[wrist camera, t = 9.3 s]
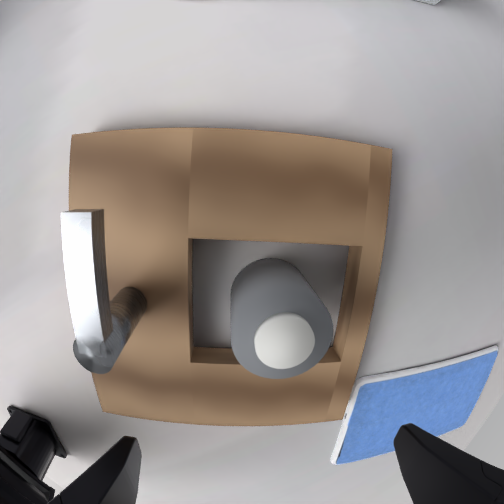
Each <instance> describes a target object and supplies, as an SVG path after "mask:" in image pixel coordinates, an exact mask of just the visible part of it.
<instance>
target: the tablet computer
mask: <svg viewBox="0 0 504 504" xmlns="http://www.w3.org/2000/svg"><path fill="white" fill-rule="evenodd" d="M498 351H499V348H498V346H496V345H495V346H492V347H489V348H486V349H483V350H480V351H477V352H474V353H471V354H467V355H464V356H460V357H457V358H453V359H450V360H446V361H442V362H438V363H434V364H429V365H425V366H421V367H415V368H411V369H405V370H400V371H395V372H388V373H383V374H377V375H370V376H364V377H361V378H359V379H357V380H356V381H355V383H354V385H353V388H352V392H351V395H350V400H349V402H348V405H347V409H346V412H345V416H344V420H343V423H342V426H341V429H340V433H339V436H338V439H337V442H336V445H335V448H334V451H333V454H332V456H331V462H332V464H334V465H340V464H345V463H350V462H355V461H359V460H364V459H368V458H371V457H375V456H379V455H383V454H386V453H390V452H393V451H395V448H394V444H393V441H394V438H395V436H396V434H397V432H398V430H399V428H400V427H401V426H402V425H404V424H408V423H413V424H414V425H416V426H418V427H420V428H422V429H423V430H425V431H427V432H429V433H430V434H432V435H434V436H436V437H438V436H440V435H443V434H445V433H448V432H450V431H452V430H455V429H457V428H460V427H461V426H463V425H464V424H465V423H466V421H467V419H468V417H469V416H470V414H471V412H472V410H473V408H474V406H475V404H476V402H477V400H478V398H479V396H480V394H481V392H482V390H483V388H484V386H485V383H486V381H487V379H488V377H489V374H490V372H491V370H492V367H493V365H494V362H495V360H496V357H497V355H498Z"/></svg>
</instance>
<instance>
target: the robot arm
mask: <svg viewBox="0 0 504 504" xmlns="http://www.w3.org/2000/svg"><path fill="white" fill-rule="evenodd" d="M7 410H8V412H9V414H10V416H11V417H10V418H9V420H8V421H7V422H6V424H5V425H4V426H3V428H2V429H1V431H0V433H1V434H0V504H135V502H136V498H137V493H138V483H139V474H140V465H141V450H140V447H139V444H138V441H137V439H136V438H135V437H129V436H124V437H122V438H121V439H120V440H119V441H118V442H117V443H116V444H115V445H114V446H112V447H111V448H110V449H109V450H108V451H107V452H106V453H105V454H104V455H103V456H101V457H100V458H99V459H98V460H97V461H96V462H95V463H94V464H93V465H91V466H90V467H89V468H88V469H87V470H86V471H85V472H84V473H82V474H81V475H80V476H79V477H78V478H77V479H76V480H74V481H73V482H72V483H71V484H70V485H69V486H68V487H66V488H65V489H64V490H63V491H62V492H61V493H60V495H59V494H58V495H57V496H56V497H54V493H55V489H53V488H52V487H49V486H48V485H47V484H45V483H44V482H43V481H42V480H43V478H44V476H45V474H46V472H47V470H48V468H49V466H50V464H51V462H52V460H53V458H54V456H55V455H57V456H59V457H62V458H66V456H67V454H66V452H65V451H64V449H63V447H62V445H61V443H60V441H59V440H58V438H57V436H56V434H55V432H54V430H53V428H52V426H51V424H50V422H49V421H47V420H45V419H42V418H40V417H37V416H34V415H31V414H29V413H26V412H24V411H21V410H19V409H16V408H14V407H11V406H9V407H8V408H7ZM393 444H394V448H395V452H396V455H397V459H398V462H399V466H400V469H401V473H402V476H403V479H404V481H405V484H406V486H407V488H408V491H409V493H410V496H411V498H412V501H413V503H414V504H504V470H502V469H500V468H497V467H495V466H492V465H490V464H488V463H486V462H484V461H482V460H480V459H478V458H476V457H474V456H472V455H470V454H468V453H466V452H464V451H462V450H460V449H458V448H456V447H454V446H453V445H451V444H449V443H447V442H445V441H443V440H441V439H440V438H438V437H436V436H434V435H432V434H430V433H429V432H427V431H425V430H423V429H422V428H420V427H418V426H416V425H414V424H413V423H408V424H404V425H402V426H401V427H400V428H399V430H398V432H397V434H396V436H395V438H394V441H393Z"/></svg>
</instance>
